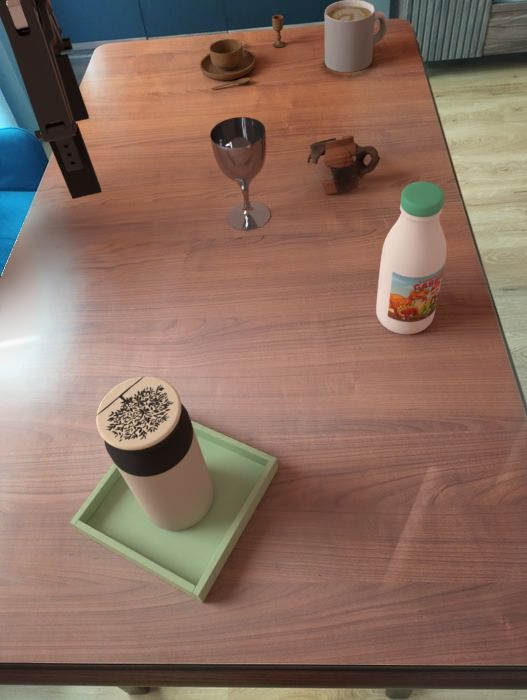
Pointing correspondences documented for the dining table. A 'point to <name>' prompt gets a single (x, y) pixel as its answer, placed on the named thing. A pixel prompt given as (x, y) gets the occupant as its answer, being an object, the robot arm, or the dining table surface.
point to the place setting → (234, 57)
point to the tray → (191, 543)
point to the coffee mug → (351, 34)
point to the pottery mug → (343, 162)
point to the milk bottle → (412, 261)
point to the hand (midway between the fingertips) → (81, 154)
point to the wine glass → (242, 165)
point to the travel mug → (156, 451)
